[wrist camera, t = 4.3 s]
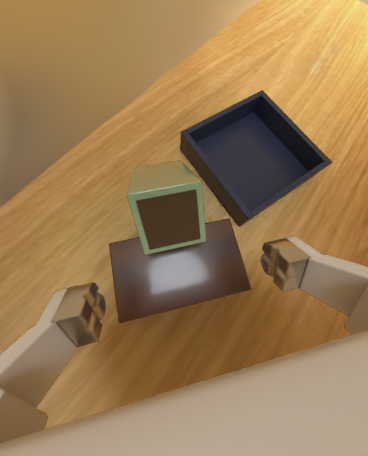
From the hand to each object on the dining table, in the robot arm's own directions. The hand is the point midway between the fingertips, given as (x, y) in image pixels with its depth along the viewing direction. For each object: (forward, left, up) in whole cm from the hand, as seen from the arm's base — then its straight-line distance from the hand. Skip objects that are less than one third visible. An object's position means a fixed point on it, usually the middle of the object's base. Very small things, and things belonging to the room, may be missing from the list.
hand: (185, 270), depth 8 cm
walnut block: (0, -1, -12) cm, 12 cm away
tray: (-16, -7, -12) cm, 21 cm away
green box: (-3, -7, -12) cm, 14 cm away
